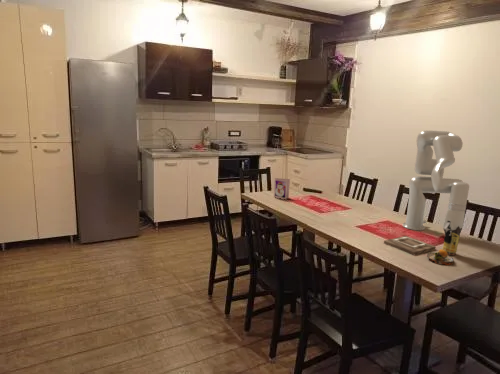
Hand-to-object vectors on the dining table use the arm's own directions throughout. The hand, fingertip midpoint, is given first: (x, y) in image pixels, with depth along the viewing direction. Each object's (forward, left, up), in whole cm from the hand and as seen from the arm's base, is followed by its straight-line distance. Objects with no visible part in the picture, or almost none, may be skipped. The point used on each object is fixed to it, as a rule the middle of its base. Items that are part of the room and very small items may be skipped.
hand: (451, 241), depth 191 cm
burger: (+13, +3, -7) cm, 15 cm away
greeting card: (+10, -128, -7) cm, 129 cm away
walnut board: (+10, -16, -7) cm, 20 cm away
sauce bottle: (0, 0, -7) cm, 7 cm away
